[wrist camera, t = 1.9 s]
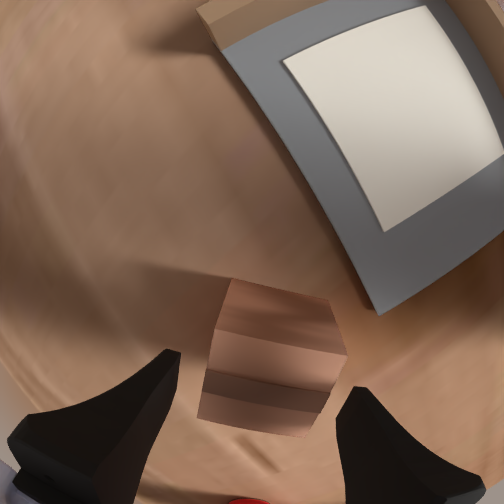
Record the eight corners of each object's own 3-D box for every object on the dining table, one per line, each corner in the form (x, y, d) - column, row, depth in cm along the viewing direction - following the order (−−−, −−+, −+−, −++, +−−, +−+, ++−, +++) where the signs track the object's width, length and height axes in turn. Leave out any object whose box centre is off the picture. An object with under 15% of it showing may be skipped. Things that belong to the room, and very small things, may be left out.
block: (327, 299, 15) (348, 357, 10) (299, 373, 17) (305, 439, 12) (232, 277, 15) (214, 329, 10) (214, 355, 17) (196, 419, 12)
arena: (538, 193, 12) (575, 202, 9) (375, 310, 15) (398, 347, 12) (420, -35, 9) (443, -62, 6) (212, 41, 12) (195, 9, 8)
